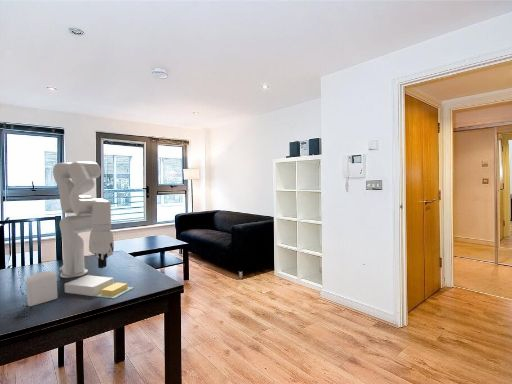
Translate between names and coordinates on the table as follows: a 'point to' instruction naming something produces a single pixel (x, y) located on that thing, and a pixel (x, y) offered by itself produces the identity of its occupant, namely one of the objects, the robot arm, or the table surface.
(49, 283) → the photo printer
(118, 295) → the mat
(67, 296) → the table surface
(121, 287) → the tile
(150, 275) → the table surface
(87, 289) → the plate
